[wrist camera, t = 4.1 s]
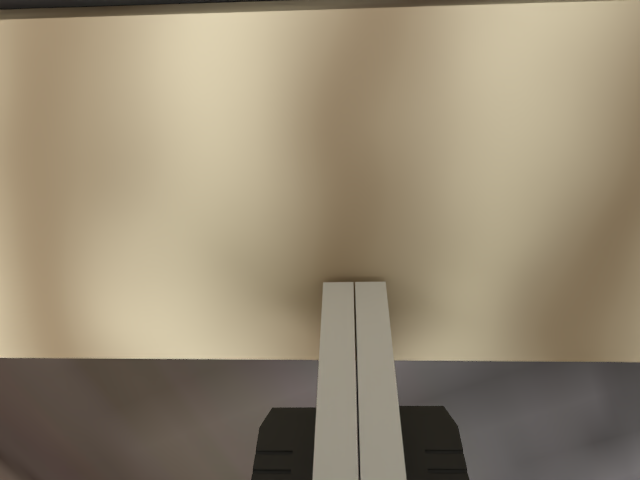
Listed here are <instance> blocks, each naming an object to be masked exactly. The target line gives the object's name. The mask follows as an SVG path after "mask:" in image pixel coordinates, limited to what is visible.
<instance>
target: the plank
mask: <svg viewBox="0 0 640 480" xmlns="http://www.w3.org/2000/svg"><path fill="white" fill-rule="evenodd" d="M323 282H353V285H354V328H355V360H356V311H355V282H386V290H387V299H388V309H389V318H390V328H391V337H392V347H393V356H394V360H410V361H556V362H640V0H284V1H253V2H223V3H192V4H161V5H130V6H99V7H68V8H37V9H6V10H0V358H118V359H264V360H319V350H320V331H321V312H322V294H323Z"/></svg>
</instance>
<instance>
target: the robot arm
mask: <svg viewBox="0 0 640 480" xmlns="http://www.w3.org/2000/svg"><path fill="white" fill-rule="evenodd" d="M355 311H356V372H355V328H354V285H353V282H323V294H322V312H321V331H320V350H319V368H318V387H317V405H316V408H272V409H271V411H270V412H269V414H268V415H267V417H266V418H265V420H264V421H263V423H262V425H261V426H260V428H259V434H258V440H257V447H256V455H255V460H254V466H253V474H252V479H251V480H358V458H357V416H358V455H359V480H469V477H468V474H467V467H466V462H465V458H464V454H463V448H462V443H461V439H460V434H459V429H458V426H457V424H456V423H455V422H454V420H453V419H452V417H451V416H450V415H449V413H448V412H447V410H446V409H445V407H444V406H399V403H398V394H397V385H396V375H395V366H394V356H393V347H392V337H391V328H390V318H389V309H388V299H387V290H386V282H355ZM356 376H357V415H356Z"/></svg>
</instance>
